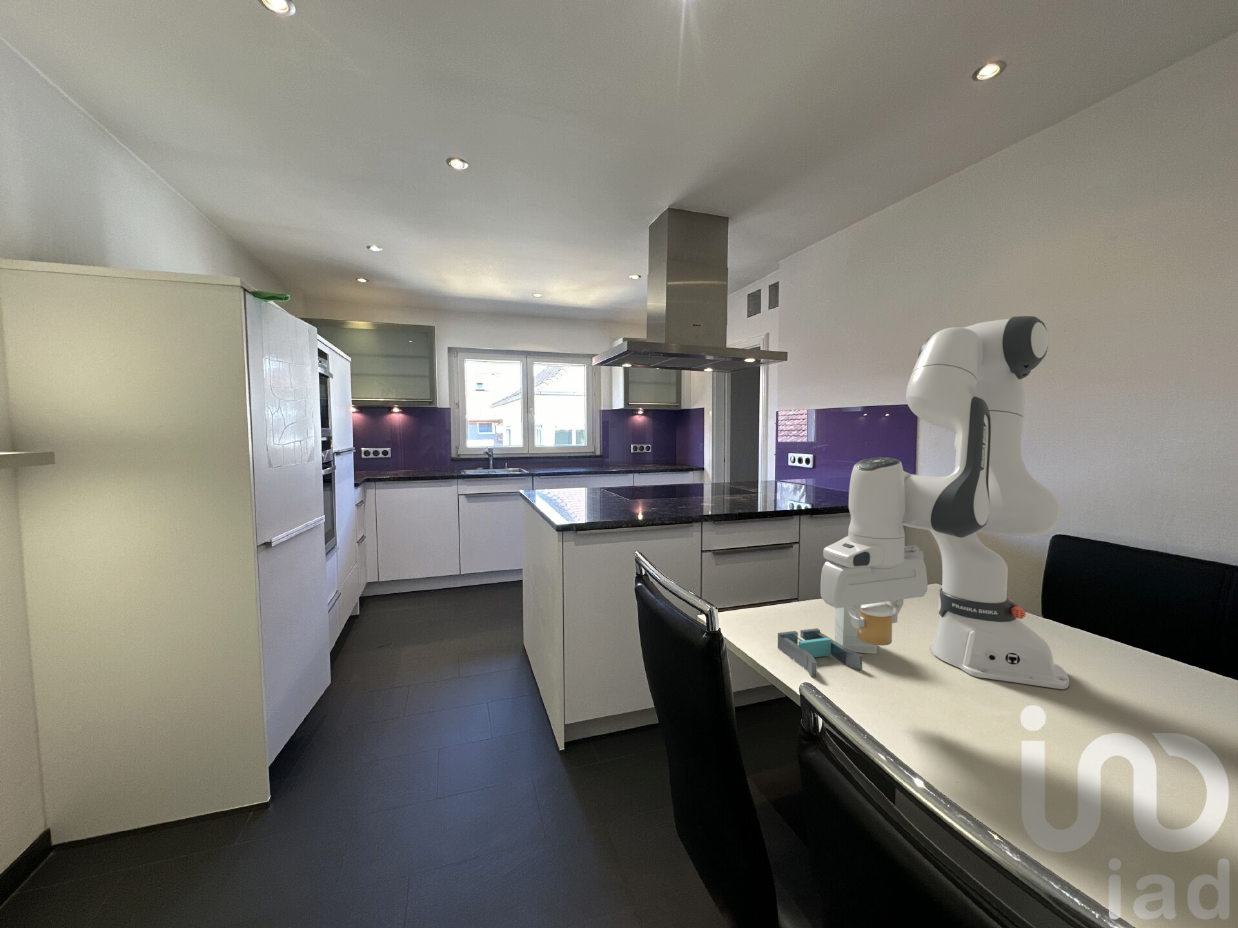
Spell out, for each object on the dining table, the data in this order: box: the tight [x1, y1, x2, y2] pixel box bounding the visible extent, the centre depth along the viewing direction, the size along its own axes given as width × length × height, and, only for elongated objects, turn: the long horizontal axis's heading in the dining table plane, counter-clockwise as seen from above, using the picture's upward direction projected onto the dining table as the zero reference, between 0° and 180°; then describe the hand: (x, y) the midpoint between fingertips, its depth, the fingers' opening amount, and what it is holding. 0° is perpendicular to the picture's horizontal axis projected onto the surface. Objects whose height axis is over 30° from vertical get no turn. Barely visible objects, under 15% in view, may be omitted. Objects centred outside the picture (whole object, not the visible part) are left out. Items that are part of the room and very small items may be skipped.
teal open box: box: [798, 635, 832, 658], centre depth 104 cm, size 8×7×4 cm
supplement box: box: [834, 607, 878, 655], centre depth 107 cm, size 7×7×13 cm
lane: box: [777, 627, 864, 678], centre depth 101 cm, size 13×12×4 cm
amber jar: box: [857, 602, 893, 646], centre depth 84 cm, size 6×6×6 cm
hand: (874, 624), depth 84 cm, fingers closed on amber jar, 5 cm apart
